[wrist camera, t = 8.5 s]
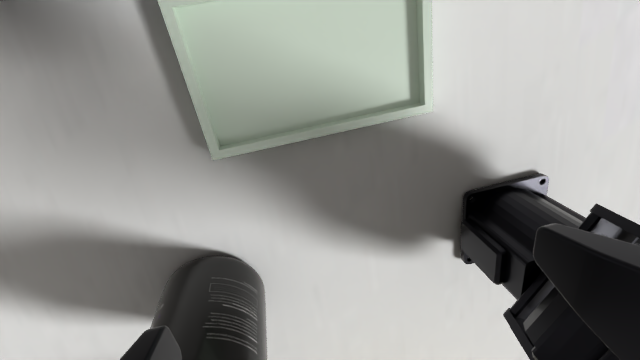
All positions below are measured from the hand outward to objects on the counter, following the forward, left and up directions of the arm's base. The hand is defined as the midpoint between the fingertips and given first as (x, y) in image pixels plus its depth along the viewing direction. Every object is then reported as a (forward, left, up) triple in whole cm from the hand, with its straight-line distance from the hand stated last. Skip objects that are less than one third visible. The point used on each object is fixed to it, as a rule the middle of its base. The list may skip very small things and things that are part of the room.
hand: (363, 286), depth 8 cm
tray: (-1, -4, -13) cm, 14 cm away
